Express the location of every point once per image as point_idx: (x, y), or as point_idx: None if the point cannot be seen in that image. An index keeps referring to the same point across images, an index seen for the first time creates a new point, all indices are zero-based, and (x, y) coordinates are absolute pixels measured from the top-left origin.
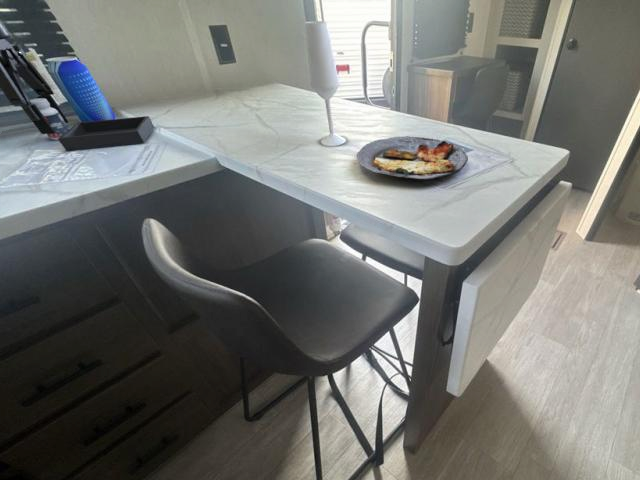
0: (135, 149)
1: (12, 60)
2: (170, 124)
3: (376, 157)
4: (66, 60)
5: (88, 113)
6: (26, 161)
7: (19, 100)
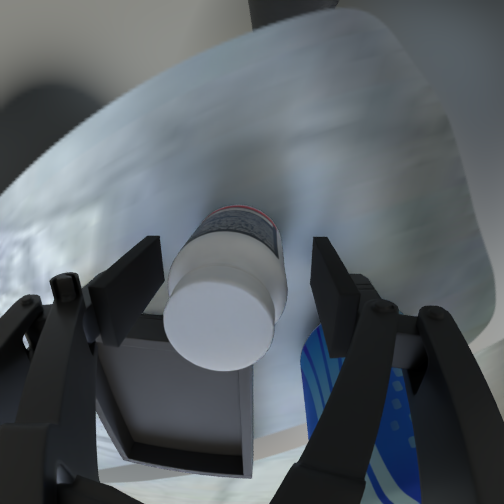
0: (96, 426)
1: None
2: (267, 472)
3: None
4: None
5: (304, 386)
6: (25, 225)
7: (29, 345)
